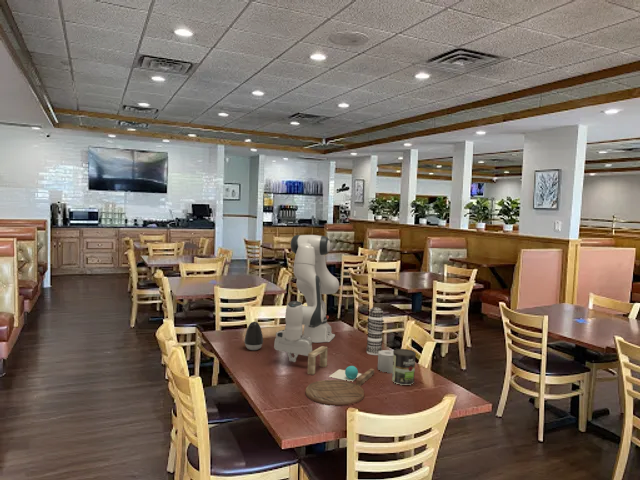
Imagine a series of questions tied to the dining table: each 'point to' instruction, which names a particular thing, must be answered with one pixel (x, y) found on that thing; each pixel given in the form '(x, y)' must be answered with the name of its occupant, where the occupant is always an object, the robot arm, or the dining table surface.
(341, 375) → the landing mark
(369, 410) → the dining table surface
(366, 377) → the stopper wall
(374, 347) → the leaning tower model
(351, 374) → the ball
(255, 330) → the speaker
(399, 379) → the coffee can
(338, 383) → the trivet
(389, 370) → the toilet tissue
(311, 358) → the bridge
